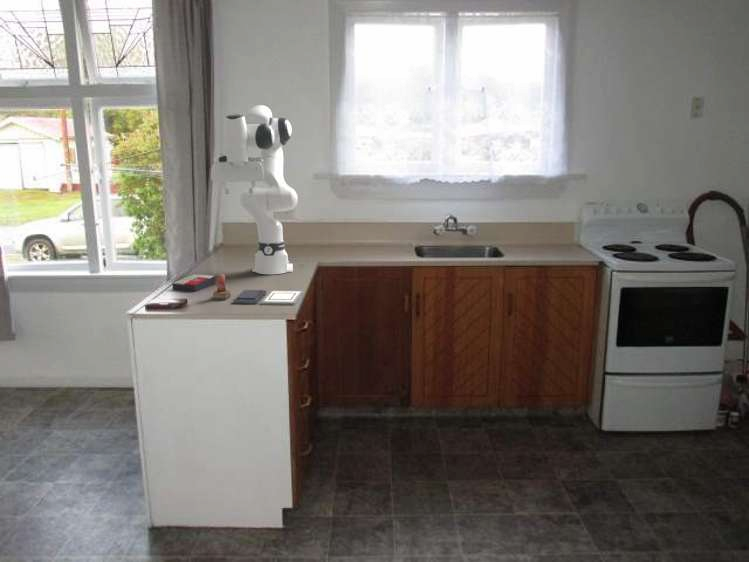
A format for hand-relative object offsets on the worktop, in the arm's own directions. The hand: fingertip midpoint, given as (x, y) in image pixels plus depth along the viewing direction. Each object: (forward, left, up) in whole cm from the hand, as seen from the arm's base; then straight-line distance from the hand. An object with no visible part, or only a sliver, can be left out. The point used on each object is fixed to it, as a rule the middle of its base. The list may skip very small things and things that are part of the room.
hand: (238, 193), depth 242 cm
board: (+11, +18, -40) cm, 45 cm away
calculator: (-6, -23, -40) cm, 47 cm away
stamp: (+11, -6, -40) cm, 42 cm away
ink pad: (+12, +6, -40) cm, 42 cm away
